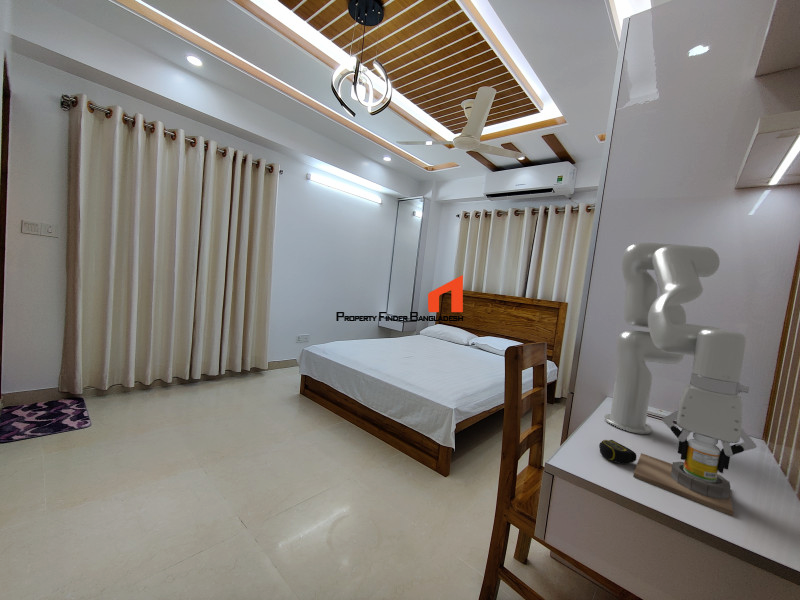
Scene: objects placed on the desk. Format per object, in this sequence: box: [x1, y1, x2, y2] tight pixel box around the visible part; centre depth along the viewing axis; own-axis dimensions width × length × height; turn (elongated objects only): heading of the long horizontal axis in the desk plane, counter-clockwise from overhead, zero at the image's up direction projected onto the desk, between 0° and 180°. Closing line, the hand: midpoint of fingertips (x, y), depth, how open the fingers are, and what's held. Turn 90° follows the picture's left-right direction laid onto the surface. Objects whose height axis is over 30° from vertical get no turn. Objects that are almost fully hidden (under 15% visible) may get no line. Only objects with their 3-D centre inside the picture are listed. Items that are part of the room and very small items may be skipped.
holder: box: [633, 452, 734, 517], centre depth 73 cm, size 14×16×4 cm
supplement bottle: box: [683, 432, 721, 483], centre depth 71 cm, size 5×5×10 cm
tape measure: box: [598, 439, 638, 465], centre depth 81 cm, size 7×7×4 cm
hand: (701, 463), depth 71 cm, fingers closed on supplement bottle, 5 cm apart
